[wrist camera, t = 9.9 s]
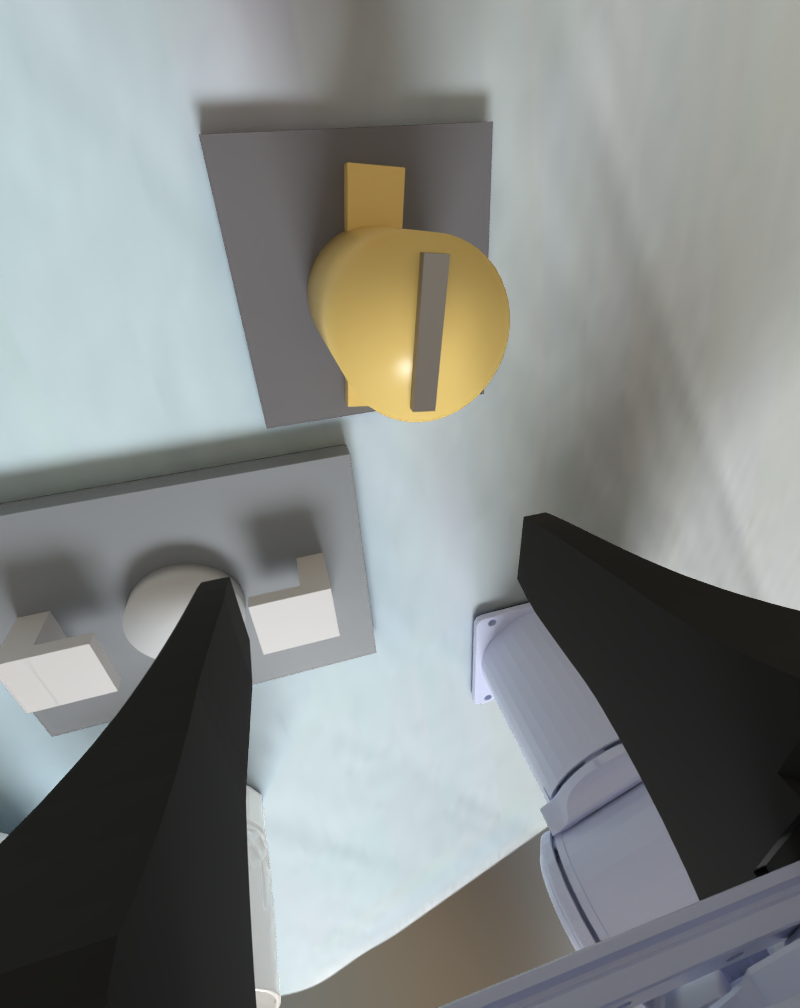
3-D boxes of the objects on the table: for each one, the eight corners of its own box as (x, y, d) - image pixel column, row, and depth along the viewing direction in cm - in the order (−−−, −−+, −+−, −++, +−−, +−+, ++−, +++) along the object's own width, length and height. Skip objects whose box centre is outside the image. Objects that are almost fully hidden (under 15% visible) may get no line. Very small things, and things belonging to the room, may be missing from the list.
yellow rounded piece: (420, 399, 19) (491, 474, 14) (312, 402, 18) (339, 486, 13) (438, 172, 15) (545, 149, 10) (301, 159, 14) (335, 126, 9)
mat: (484, 124, 16) (492, 121, 15) (478, 389, 20) (483, 393, 20) (200, 137, 14) (199, 134, 13) (266, 422, 19) (266, 428, 18)
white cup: (212, 855, 33) (200, 1064, 25) (112, 829, 29) (58, 1072, 21) (297, 795, 33) (313, 993, 24) (206, 759, 28) (189, 985, 20)
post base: (345, 444, 20) (361, 482, 17) (372, 639, 27) (387, 690, 24) (-91, 519, 17) (-159, 581, 14) (59, 718, 24) (32, 789, 21)
